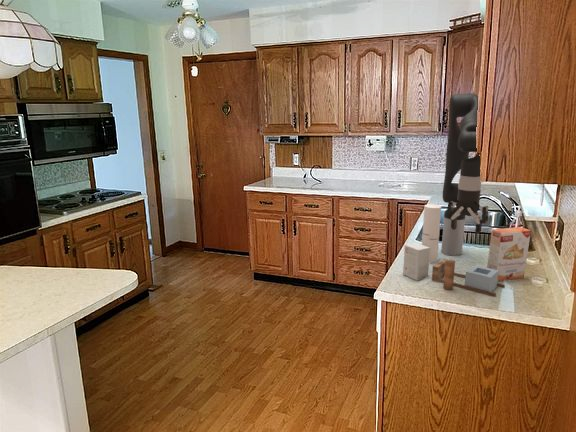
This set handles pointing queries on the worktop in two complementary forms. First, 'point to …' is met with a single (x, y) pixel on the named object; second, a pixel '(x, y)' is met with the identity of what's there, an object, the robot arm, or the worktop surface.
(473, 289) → the track
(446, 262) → the dowel
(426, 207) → the cylindrical container
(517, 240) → the cracker box
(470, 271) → the grey square collar
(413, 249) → the small box
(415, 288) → the worktop surface
